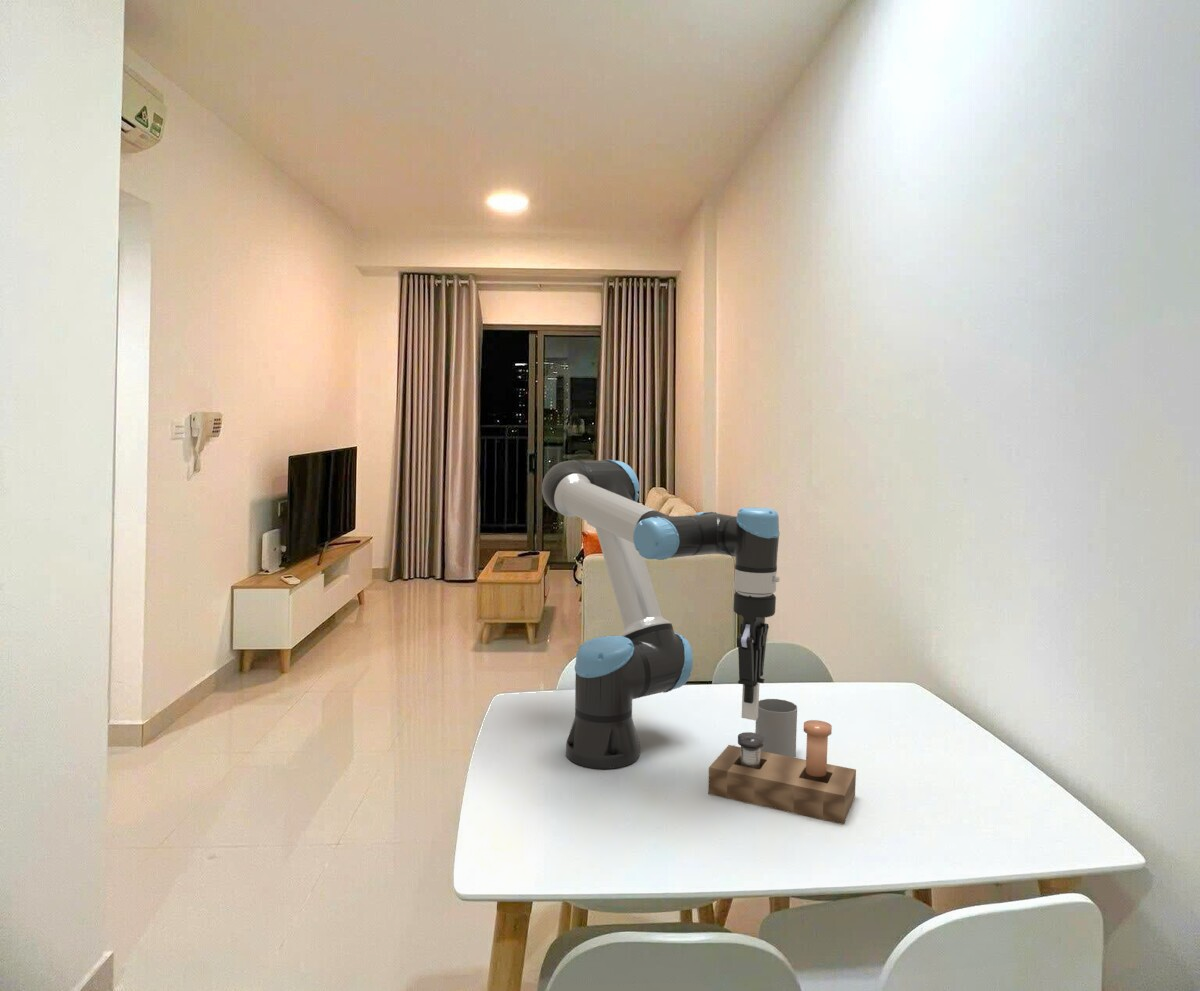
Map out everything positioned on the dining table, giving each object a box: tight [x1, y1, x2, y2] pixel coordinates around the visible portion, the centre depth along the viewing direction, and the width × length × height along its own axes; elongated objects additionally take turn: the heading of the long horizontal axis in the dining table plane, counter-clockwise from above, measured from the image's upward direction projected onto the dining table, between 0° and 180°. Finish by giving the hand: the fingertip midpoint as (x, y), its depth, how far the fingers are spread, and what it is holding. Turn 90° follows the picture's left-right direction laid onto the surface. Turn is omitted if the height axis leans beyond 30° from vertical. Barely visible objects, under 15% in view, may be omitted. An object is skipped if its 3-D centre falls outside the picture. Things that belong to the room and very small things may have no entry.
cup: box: [754, 698, 798, 758], centre depth 163 cm, size 8×8×10 cm
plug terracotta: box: [803, 719, 833, 777], centre depth 140 cm, size 5×5×9 cm
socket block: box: [707, 744, 857, 825], centre depth 143 cm, size 24×12×5 cm, turn 63°
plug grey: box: [737, 731, 764, 770], centre depth 146 cm, size 5×5×9 cm
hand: (749, 717), depth 146 cm, fingers closed
